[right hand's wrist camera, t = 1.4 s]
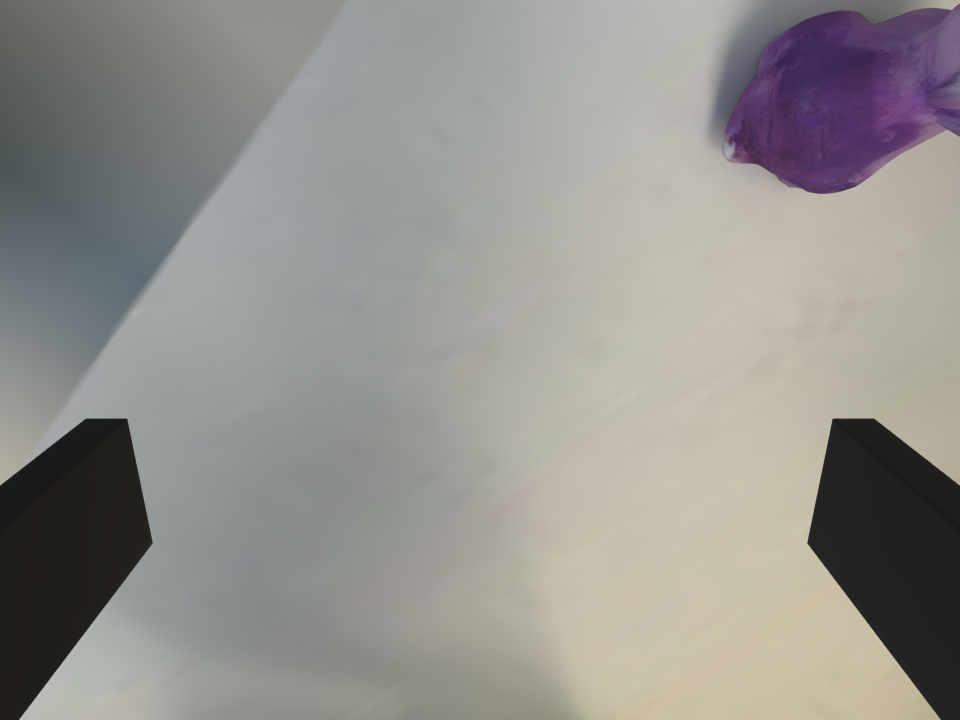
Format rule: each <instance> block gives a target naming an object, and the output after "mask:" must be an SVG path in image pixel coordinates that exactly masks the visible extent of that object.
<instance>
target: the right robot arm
mask: <svg viewBox="0 0 960 720" xmlns="http://www.w3.org/2000/svg"><path fill="white" fill-rule="evenodd" d="M152 543H153V542H152V538H151V533H150V528H149V523H148V518H147V513H146V508H145V503H144V498H143V494H142V489H141V484H140V479H139V474H138V469H137V464H136V459H135V454H134V450H133V445H132V440H131V435H130V430H129V425H128V420H127V419H85V420H84V421H82V422H81V423H80V424H79V425H77V426H76V427H75V428H73V429H72V430H71V431H70V432H68V433H67V434H66V435H64V436H63V437H62V438H61V439H59V440H58V441H57V442H55V443H54V444H53V445H52V446H50V447H49V448H48V449H46V450H45V451H44V452H43V453H41V454H40V455H39V456H38V457H36V458H35V459H34V460H32V461H31V462H30V463H29V464H27V465H26V466H25V467H23V468H22V469H21V470H20V471H18V472H17V473H16V474H14V475H13V476H12V477H11V478H9V479H8V480H7V481H6V482H4V483H3V484H2V485H0V720H19V719H20V718H21V716H22V715H23V714H24V712H25V711H26V710H27V709H28V707H29V706H30V705H31V703H32V702H33V701H34V699H35V698H36V697H37V695H38V694H39V693H40V691H41V690H42V689H43V687H44V686H45V685H46V683H47V682H48V681H49V679H50V678H51V677H52V676H53V674H54V673H55V672H56V670H57V669H58V668H59V666H60V665H61V664H62V662H63V661H64V660H65V658H66V657H67V656H68V654H69V653H70V652H71V650H72V649H73V648H74V646H75V645H76V644H77V642H78V641H79V640H80V639H81V637H82V636H83V635H84V633H85V632H86V631H87V629H88V628H89V627H90V625H91V624H92V623H93V621H94V620H95V619H96V617H97V616H98V615H99V613H100V612H101V611H102V609H103V608H104V607H105V606H106V604H107V603H108V602H109V600H110V599H111V598H112V596H113V595H114V594H115V592H116V591H117V590H118V588H119V587H120V586H121V584H122V583H123V582H124V580H125V579H126V578H127V576H128V575H129V574H130V572H131V571H132V570H133V569H134V567H135V566H136V565H137V563H138V562H139V561H140V559H141V558H142V557H143V555H144V554H145V553H146V551H147V550H148V549H149V547H150V546H151V545H152ZM807 543H808V545H809V546H810V547H811V549H812V550H813V551H814V553H815V554H816V555H817V557H818V558H819V559H820V561H821V562H822V563H823V565H824V566H825V567H826V569H827V570H828V571H829V572H830V574H831V575H832V576H833V578H834V579H835V580H836V582H837V583H838V584H839V586H840V587H841V588H842V590H843V591H844V592H845V594H846V595H847V596H848V598H849V599H850V600H851V602H852V603H853V604H854V606H855V607H856V608H857V609H858V611H859V612H860V613H861V615H862V616H863V617H864V619H865V620H866V621H867V623H868V624H869V625H870V627H871V628H872V629H873V631H874V632H875V633H876V635H877V636H878V637H879V639H880V640H881V641H882V642H883V644H884V645H885V646H886V648H887V649H888V650H889V652H890V653H891V654H892V656H893V657H894V658H895V660H896V661H897V662H898V664H899V665H900V666H901V668H902V669H903V670H904V672H905V673H906V674H907V676H908V677H909V678H910V679H911V681H912V682H913V683H914V685H915V686H916V687H917V689H918V690H919V691H920V693H921V694H922V695H923V697H924V698H925V699H926V701H927V702H928V703H929V705H930V706H931V707H932V709H933V710H934V711H935V712H936V714H937V715H938V716H939V718H940V719H941V720H960V485H958V484H957V483H956V482H954V481H953V480H952V479H951V478H949V477H948V476H947V475H946V474H944V473H943V472H942V471H940V470H939V469H938V468H937V467H935V466H934V465H933V464H931V463H930V462H929V461H928V460H926V459H925V458H924V457H922V456H921V455H920V454H919V453H917V452H916V451H915V450H914V449H912V448H911V447H910V446H908V445H907V444H906V443H905V442H903V441H902V440H901V439H899V438H898V437H897V436H896V435H894V434H893V433H892V432H890V431H889V430H888V429H887V428H885V427H884V426H883V425H881V424H880V423H879V422H878V421H876V420H875V419H833V420H832V425H831V430H830V435H829V440H828V445H827V450H826V454H825V459H824V464H823V469H822V474H821V479H820V484H819V489H818V494H817V498H816V503H815V508H814V513H813V518H812V523H811V528H810V533H809V538H808V542H807Z"/></svg>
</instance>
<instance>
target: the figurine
mask: <svg viewBox="0 0 960 720" xmlns="http://www.w3.org/2000/svg"><path fill="white" fill-rule="evenodd" d="M947 129H948V130H949V131H951V132H953V133H955V134H957V135H958V136H960V4H959V5H957V6H956V7H955V8H954V9H953V10H947V9H939V8H925V9H919V10H914V11H910V12H908V13H905V14H902V15H900V16H897V17H895V18H892V19H890V20H887V21H885V22H882V23H880V24H871V23H869V22H868V21H867V20H866V19H865V18H864V17H863V16H862V15H861V14H860V13H858V12H853V11H834V12H830V13H826V14H822V15H818V16H815V17H812V18H809V19H807V20H805V21H803V22H801V23H799V24H797V25H796V26H794V27H792V28H790V29H789V30H787V31H786V32H784V33H782V34H781V35H779V36H777V37H776V38H775V39H774V40H773V41H771V42H770V43H769V44H768V45H767V46H766V47H765V49H764V51H763V53H762V55H761V58H760V62H759V66H758V73H757V74H756V76H755V77H754V78H753V79H752V81H751V82H750V83H749V85H748V86H747V88H746V89H745V91H744V92H743V94H742V96H741V97H740V99H739V102H738V104H737V106H736V108H735V110H734V112H733V114H732V117H731V119H730V121H729V123H728V125H727V127H726V130H725V134H724V137H723V144H722V152H723V156H724V158H725V159H726V160H727V161H730V162H732V163H741V164H745V163H752V164H758V165H760V166H762V167H764V168H765V169H767V170H768V171H770V172H771V173H773V174H775V175H777V177H778V178H779V180H780V181H781V182H783V183H784V184H786V185H787V186H789V187H795V188H802V189H804V190H805V191H807V192H811V193H818V194H828V193H835V192H841V191H844V190H847V189H850V188H853V187H855V186H857V185H859V184H860V183H862V182H863V181H865V180H866V179H867V178H869V177H870V176H871V175H873V174H874V173H875V172H877V171H878V170H879V169H880V168H882V167H883V166H884V165H885V164H887V163H888V162H889V161H891V160H893V159H894V158H896V157H897V156H899V155H900V154H902V153H904V152H905V151H907V150H909V149H911V148H912V147H914V146H916V145H918V144H920V143H922V142H924V141H926V140H928V139H930V138H932V137H934V136H936V135H937V134H939V133H941V132H943V131H945V130H947Z"/></svg>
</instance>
